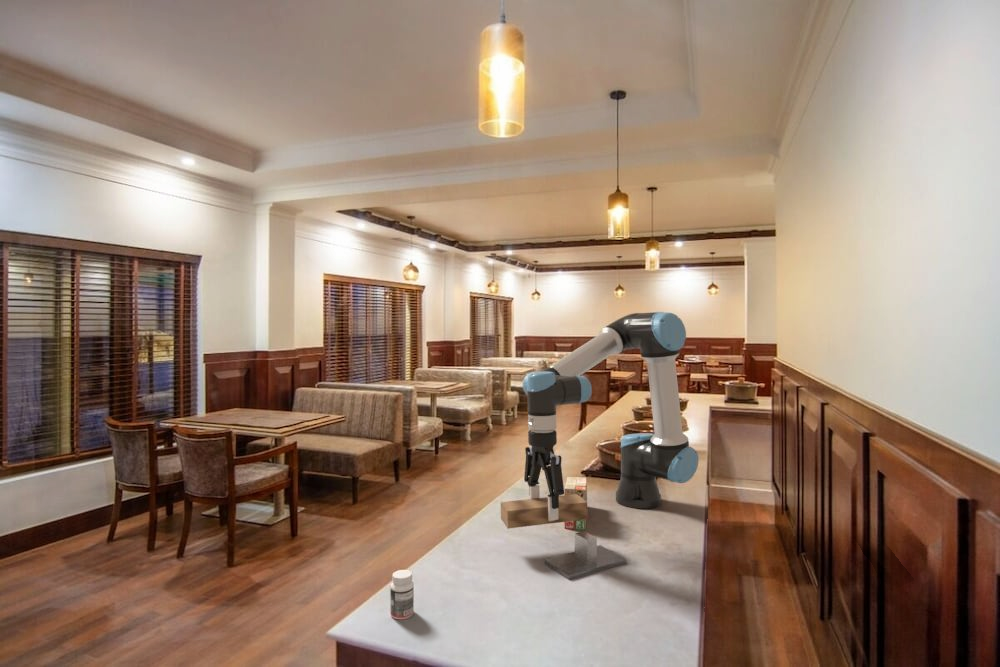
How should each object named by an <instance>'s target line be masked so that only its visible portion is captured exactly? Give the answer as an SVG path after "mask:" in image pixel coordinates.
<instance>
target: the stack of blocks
mask: <svg viewBox="0 0 1000 667" xmlns="http://www.w3.org/2000/svg"><path fill="white" fill-rule="evenodd" d="M587 486H588V483H587V477H580V476H579V477H578V476H577V477H576V476H567V477H566V482H565V485H564V495H573V494H577V495H579V496H580V497H581V498H583V499H584V500H585V501H586V502H587V503H588V487H587ZM563 527H564V529H565V530H579V531H586V527H587V519H584V520H575V521H567V522H564V526H563Z"/></svg>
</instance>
